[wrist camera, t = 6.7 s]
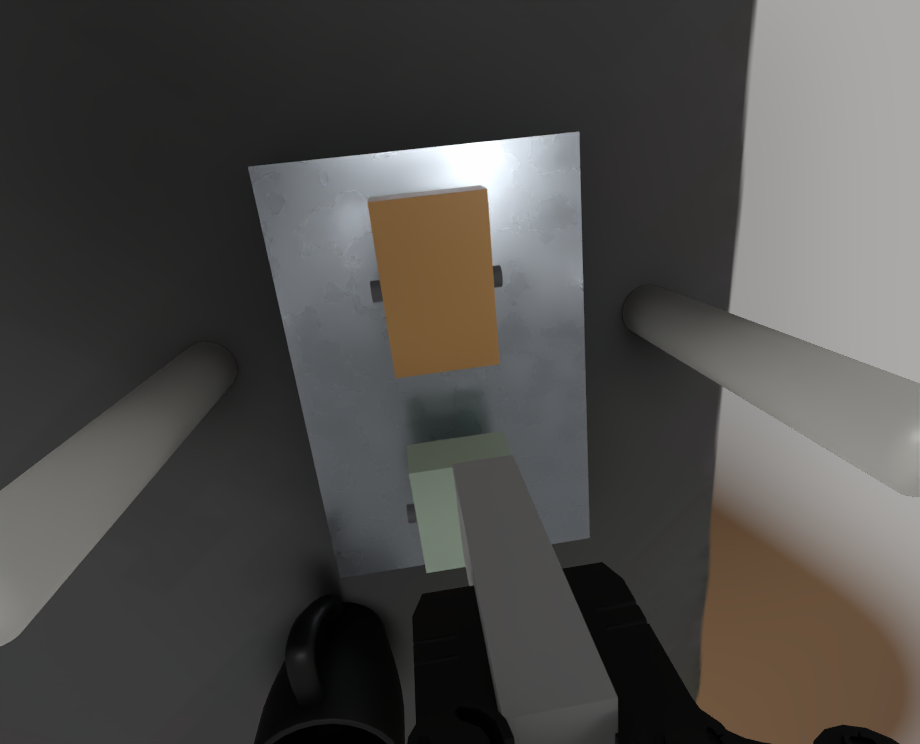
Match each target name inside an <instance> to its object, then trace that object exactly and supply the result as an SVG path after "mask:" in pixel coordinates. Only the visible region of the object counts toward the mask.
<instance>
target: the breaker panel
mask: <svg viewBox="0 0 920 744" xmlns="http://www.w3.org/2000/svg"><path fill="white" fill-rule="evenodd" d="M248 169H249V174H250V178H251V183H252V187H253V192H254V196H255V201H256V205H257V210H258V214H259V219H260V223H261V227H262V232H263V236H264V241H265V245H266V250H267V254H268V259H269V263H270V268H271V272H272V277H273V281H274V286H275V290H276V295H277V299H278V304H279V308H280V312H281V317H282V321H283V326H284V330H285V335H286V339H287V344H288V348H289V353H290V357H291V362H292V366H293V371H294V375H295V380H296V384H297V389H298V393H299V397H300V402H301V406H302V411H303V415H304V420H305V424H306V429H307V433H308V438H309V442H310V447H311V451H312V456H313V460H314V465H315V469H316V474H317V478H318V482H319V487H320V491H321V496H322V500H323V505H324V509H325V514H326V518H327V523H328V527H329V532H330V536H331V541H332V545H333V550H334V554H335V559H336V563H337V567H338V572H339V576H340V578H345V577H352V576H358V575H364V574H370V573H376V572H382V571H389V570H395V569H401V568H407V567H413V566H419V565H425V562H424V556H423V551H422V545H421V539H420V534H419V528H418V523H417V522H416V523H410V524H409V523H408V517H407V508H406V505H407V504H413V503H414V500H413V495H412V489H411V484H410V478H409V471H408V458H407V446H406V445H411V444H418V443H424V442H431V441H438V440H445V439H452V438H459V437H466V436H473V435H479V434H486V433H493V432H500V431H504V434H505V437H506V440H507V444H508V447H509V450H510V453H511V455H513V457H514V459H515V461H516V464H517V466H518V468H519V471H520V473H521V475H522V477H523V480H524V482H525V484H526V487H527V489H528V491H529V494H530V496H531V498H532V501H533V503H534V505H535V508H536V510H537V512H538V514H539V517H540V519H541V521H542V524H543V526H544V528H545V531H546V533H547V535H548V538H549V540H550V542H551V544H555V543H561V542H567V541H574V540H580V539H586V538H590V529H589V490H588V452H587V414H586V375H585V337H584V298H583V260H582V222H581V183H580V145H579V132H572V133H563V134H553V135H544V136H534V137H525V138H515V139H506V140H496V141H487V142H478V143H468V144H459V145H449V146H440V147H430V148H421V149H411V150H402V151H392V152H383V153H374V154H364V155H355V156H345V157H336V158H326V159H317V160H307V161H298V162H288V163H279V164H270V165H260V166H251V167H248ZM477 185H481V186H483V187H485V188H487V191H488V205H489V220H490V234H491V248H492V262H493V266H497V265H500V266H501V270H502V276H503V286H502V287H496V288H494V291H495V305H496V320H497V334H498V348H499V362H500V364H497V365H490V366H483V367H475V368H468V369H461V370H453V371H446V372H439V373H431V374H424V375H417V376H409V377H402V378H395V372H394V366H393V360H392V353H391V347H390V341H389V335H388V328H387V322H386V316H385V310H384V304H383V302H377V303H373V300H372V295H371V289H370V281H375V280H380V279H379V272H378V266H377V260H376V254H375V247H374V241H373V235H372V229H371V222H370V216H369V210H368V204H367V202H368V199H369V198H370V197H379V196H387V195H396V194H405V193H414V192H423V191H432V190H441V189H450V188H459V187H468V186H477Z"/></svg>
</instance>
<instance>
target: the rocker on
mask: <svg viewBox="0 0 920 744" xmlns="http://www.w3.org/2000/svg"><path fill="white" fill-rule="evenodd" d="M406 446H407V458H408V471H409V478H410V484H411V489H412V495H413V500H414V503H413V504H407V505H406V508H407V517H408V523H409V524H410V523H416V522H417V523H418V528H419V534H420V539H421V545H422V551H423V556H424V562H425V567H426V573H430V572H436V571H443V570H449V569H455V568H461V567H466V566H465V560H464V554H463V546H462V538H461V530H460V523H459V515H458V507H457V499H456V491H455V483H454V475H453V467H452V464H455V463H461V462H468V461H475V460H481V459H488V458H495V457H501V456H508V455H511V453H510V450H509V447H508V444H507V440H506V437H505V434H504V431H500V432H493V433H486V434H479V435H473V436H466V437H459V438H452V439H445V440H438V441H431V442H424V443H418V444H411V445H406Z"/></svg>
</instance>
